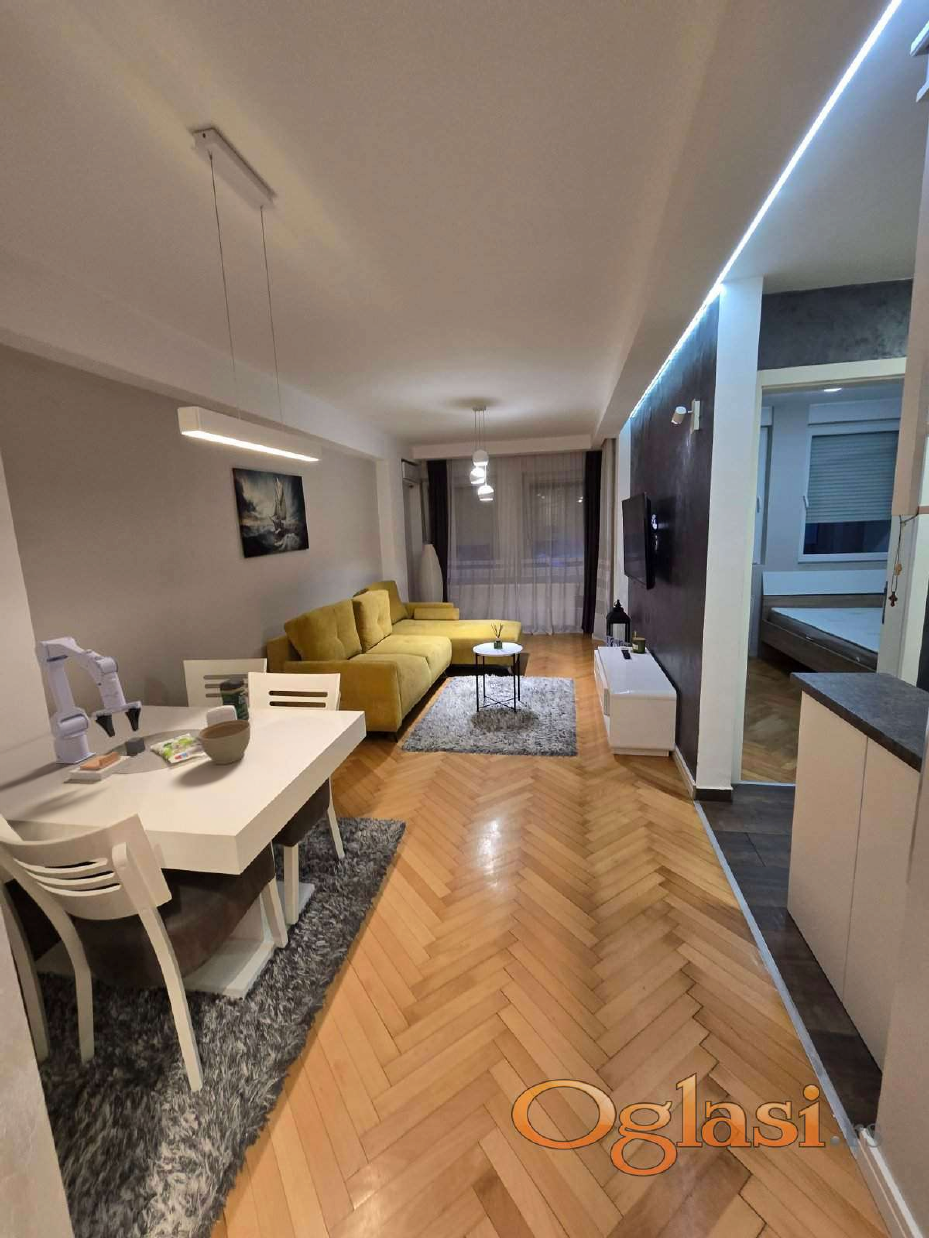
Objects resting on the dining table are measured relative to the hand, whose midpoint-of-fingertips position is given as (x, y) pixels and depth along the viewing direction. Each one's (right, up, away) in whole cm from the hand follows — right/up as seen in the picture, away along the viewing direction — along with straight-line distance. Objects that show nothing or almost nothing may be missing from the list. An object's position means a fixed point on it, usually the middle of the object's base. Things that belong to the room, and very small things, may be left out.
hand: (124, 733), depth 165 cm
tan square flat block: (-10, -11, +2) cm, 14 cm away
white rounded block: (+21, -7, +25) cm, 34 cm away
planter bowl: (+32, -10, +6) cm, 34 cm away
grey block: (-7, -11, +17) cm, 21 cm away
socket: (-9, -13, +3) cm, 16 cm away
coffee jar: (+19, -5, +40) cm, 45 cm away
